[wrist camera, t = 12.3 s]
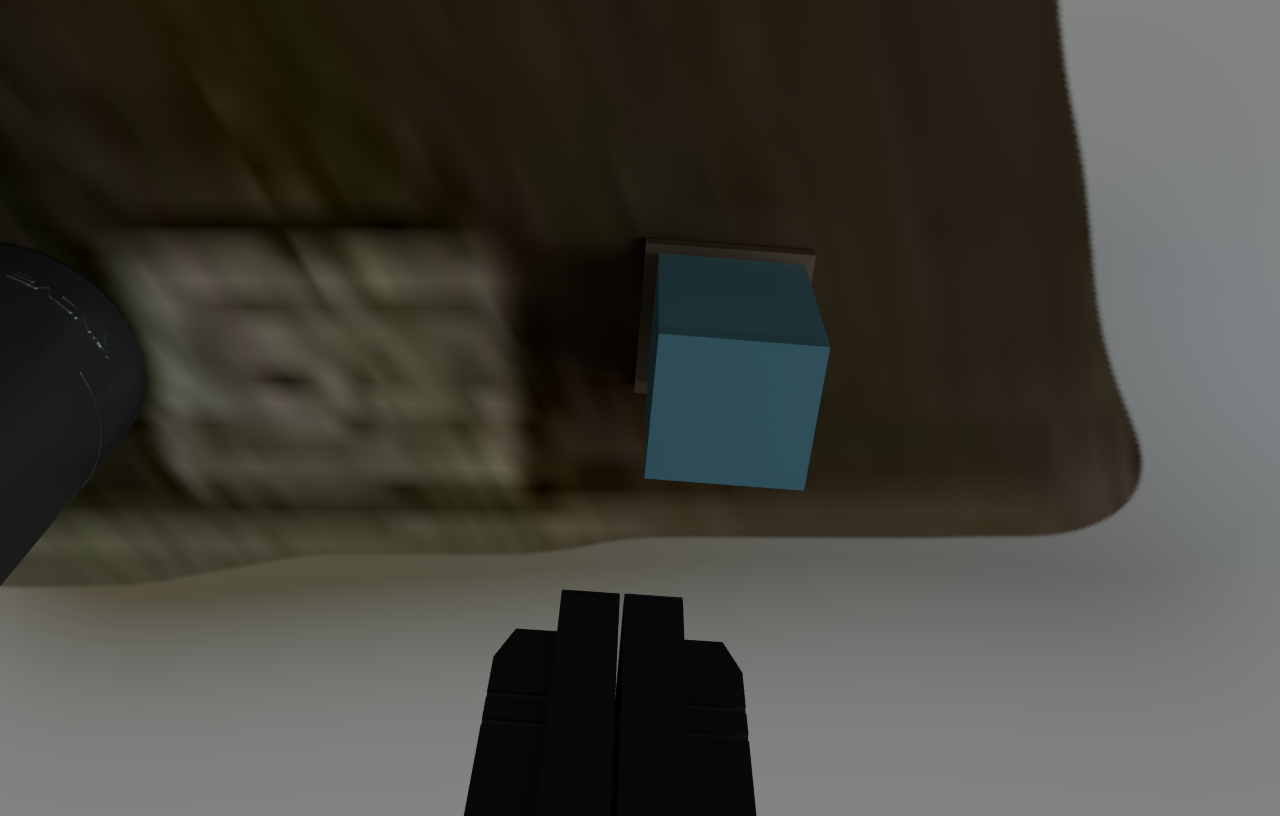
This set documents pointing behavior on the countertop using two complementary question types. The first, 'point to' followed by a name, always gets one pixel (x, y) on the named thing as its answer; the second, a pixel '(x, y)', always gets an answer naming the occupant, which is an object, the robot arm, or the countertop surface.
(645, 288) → the dark stepped block
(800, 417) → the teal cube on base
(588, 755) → the robot arm
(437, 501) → the countertop surface
